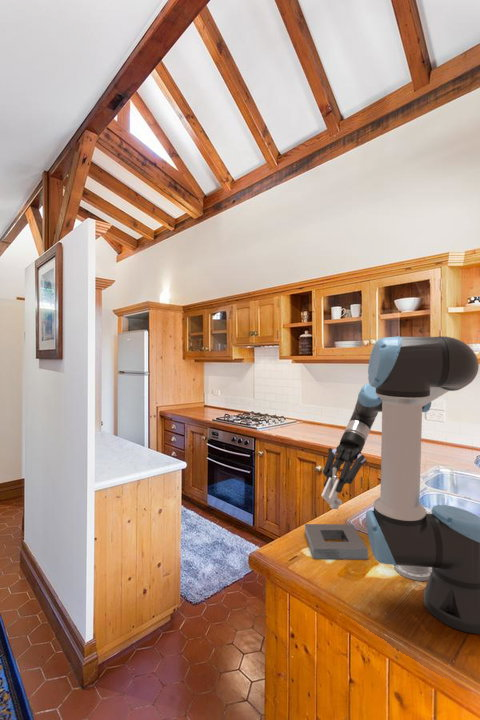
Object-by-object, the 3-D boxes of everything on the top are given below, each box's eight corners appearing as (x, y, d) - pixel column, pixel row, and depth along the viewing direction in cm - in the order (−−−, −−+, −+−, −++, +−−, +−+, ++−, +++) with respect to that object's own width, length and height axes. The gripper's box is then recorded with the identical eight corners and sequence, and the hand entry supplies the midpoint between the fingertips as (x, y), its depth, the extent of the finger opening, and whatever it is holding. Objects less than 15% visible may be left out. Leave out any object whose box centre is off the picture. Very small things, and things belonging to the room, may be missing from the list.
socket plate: (367, 559, 109) (367, 549, 109) (313, 558, 109) (313, 548, 109) (352, 533, 125) (352, 524, 125) (304, 532, 125) (304, 524, 125)
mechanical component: (402, 557, 110) (388, 571, 103) (402, 542, 110) (388, 555, 103) (438, 571, 103) (426, 586, 96) (438, 555, 103) (426, 570, 96)
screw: (344, 506, 117) (339, 512, 113) (329, 503, 120) (324, 508, 116) (344, 466, 117) (339, 470, 113) (329, 463, 120) (324, 467, 116)
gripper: (379, 447, 122) (353, 512, 110) (339, 439, 132) (312, 498, 121) (371, 433, 118) (344, 499, 107) (331, 427, 129) (302, 486, 117)
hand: (327, 498), depth 114 cm, fingers closed on screw, 2 cm apart
